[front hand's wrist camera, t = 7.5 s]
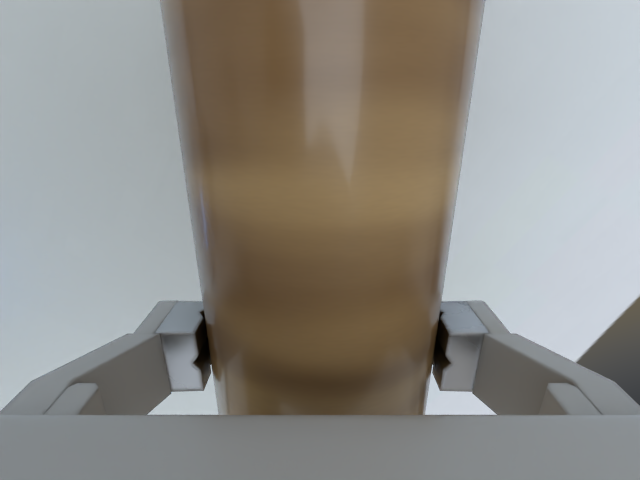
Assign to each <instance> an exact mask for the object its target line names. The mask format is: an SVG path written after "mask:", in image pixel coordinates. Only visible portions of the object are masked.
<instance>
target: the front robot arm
mask: <svg viewBox="0 0 640 480" xmlns="http://www.w3.org/2000/svg"><path fill="white" fill-rule="evenodd" d="M432 364H433V372H432V373H433V375H434V377H435V380H436V382H437V384H438V387H439V389H440V391H468V392H472V393H473V394H474V395H475V396H476V397H478V398H479V399H480V400H481V401H482V402H483V403H484V404H486V405H487V406H488V407H489V408H490V409H491V410H493V411H494V412H495V413H496V414H497V415H147V414H148V413H149V412H150V411H151V410H153V409H154V408H155V407H156V406H157V405H158V404H160V403H161V402H162V401H163V400H164V399H165V398H166V397H168V396H169V395H170V394H171V392H175V391H204V388H205V386H206V384H207V381H208V379H209V376H210V374H211V369H210V365H211V357H210V350H209V342H208V335H207V328H206V321H205V314H204V307H203V301H160V302H158V303H157V305H156V306H155V307H154V308H153V310H152V311H151V312H150V313H149V315H148V316H147V317H146V318H145V320H144V321H143V322H142V323H141V325H140V326H139V327H138V328H137V330H136V331H135V332H134V333H133V334H126V335H124V336H122V337H120V338H118V339H116V340H114V341H112V342H110V343H108V344H106V345H104V346H102V347H100V348H98V349H96V350H94V351H92V352H90V353H88V354H86V355H84V356H82V357H79V358H77V359H75V360H73V361H71V362H69V363H67V364H65V365H63V366H61V367H59V368H57V369H55V370H53V371H51V372H49V373H47V374H45V375H43V376H41V377H39V378H37V379H35V380H33V381H31V382H30V383H29V384H28V385H27V386H26V387H25V388H24V389H23V390H22V391H21V392H20V393H19V394H18V395H17V396H16V397H15V398H13V399H12V400H11V401H10V402H9V403H8V404H7V405H6V406H5V407H4V408H3V409H2V410H1V411H0V480H640V406H639V405H638V404H637V403H636V402H635V401H634V400H633V399H632V398H631V397H630V396H629V395H628V394H627V393H626V392H625V391H624V390H622V389H621V388H620V387H619V386H618V385H617V384H616V383H615V382H614V381H612V380H610V379H608V378H605V377H603V376H601V375H599V374H597V373H595V372H593V371H591V370H589V369H587V368H585V367H583V366H581V365H579V364H577V363H575V362H573V361H571V360H569V359H567V358H565V357H563V356H561V355H559V354H557V353H555V352H553V351H551V350H549V349H546V348H544V347H542V346H540V345H538V344H536V343H534V342H532V341H530V340H528V339H526V338H524V337H522V336H520V335H518V334H511V333H510V332H509V331H508V330H507V329H506V327H505V326H504V325H503V324H502V322H501V321H500V320H499V319H498V318H497V316H496V315H495V314H494V313H493V311H492V310H491V309H490V308H489V307H488V305H487V304H486V303H485V302H483V301H481V300H479V301H447V302H441V307H440V314H439V321H438V328H437V335H436V341H435V348H434V355H433V362H432Z"/></svg>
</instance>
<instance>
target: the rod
mask: <svg viewBox="0 0 640 480" xmlns="http://www.w3.org/2000/svg"><path fill="white" fill-rule="evenodd" d="M160 3H161V10H162V17H163V25H164V32H165V39H166V46H167V53H168V60H169V67H170V74H171V81H172V88H173V95H174V102H175V109H176V116H177V123H178V130H179V138H180V145H181V152H182V159H183V166H184V173H185V180H186V187H187V194H188V201H189V208H190V215H191V222H192V229H193V236H194V244H195V251H196V258H197V265H198V272H199V279H200V286H201V293H202V300H203V307H204V314H205V321H206V328H207V335H208V342H209V350H210V357H211V364H212V371H213V378H214V385H215V392H216V399H217V406H218V413H219V415H425V410H426V403H427V396H428V389H429V383H430V376H431V369H432V362H433V355H434V348H435V341H436V335H437V328H438V321H439V314H440V307H441V300H442V293H443V287H444V280H445V273H446V266H447V259H448V252H449V245H450V239H451V232H452V225H453V218H454V211H455V204H456V197H457V191H458V184H459V177H460V170H461V163H462V156H463V149H464V143H465V136H466V129H467V122H468V115H469V108H470V101H471V95H472V88H473V81H474V74H475V67H476V60H477V54H478V47H479V40H480V33H481V26H482V19H483V12H484V6H485V0H160Z"/></svg>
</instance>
